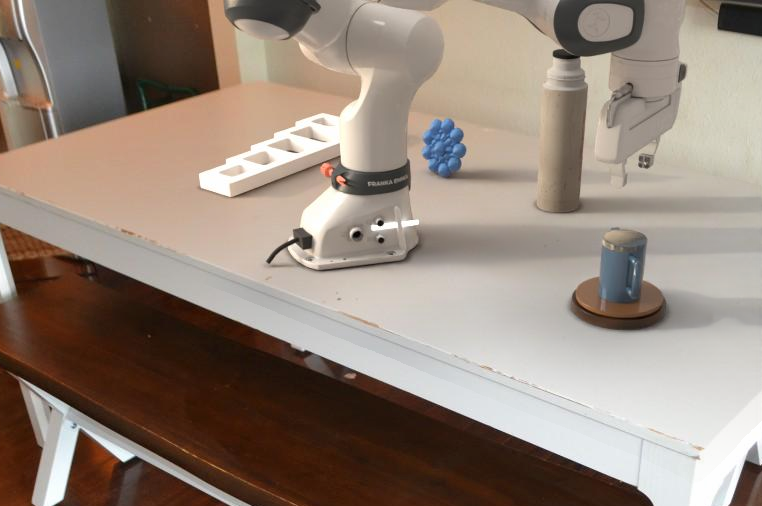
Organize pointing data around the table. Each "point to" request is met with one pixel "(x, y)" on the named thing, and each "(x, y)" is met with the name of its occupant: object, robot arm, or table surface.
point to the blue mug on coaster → (621, 279)
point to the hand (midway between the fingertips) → (632, 176)
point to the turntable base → (615, 321)
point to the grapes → (443, 147)
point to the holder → (277, 156)
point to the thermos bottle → (562, 134)
